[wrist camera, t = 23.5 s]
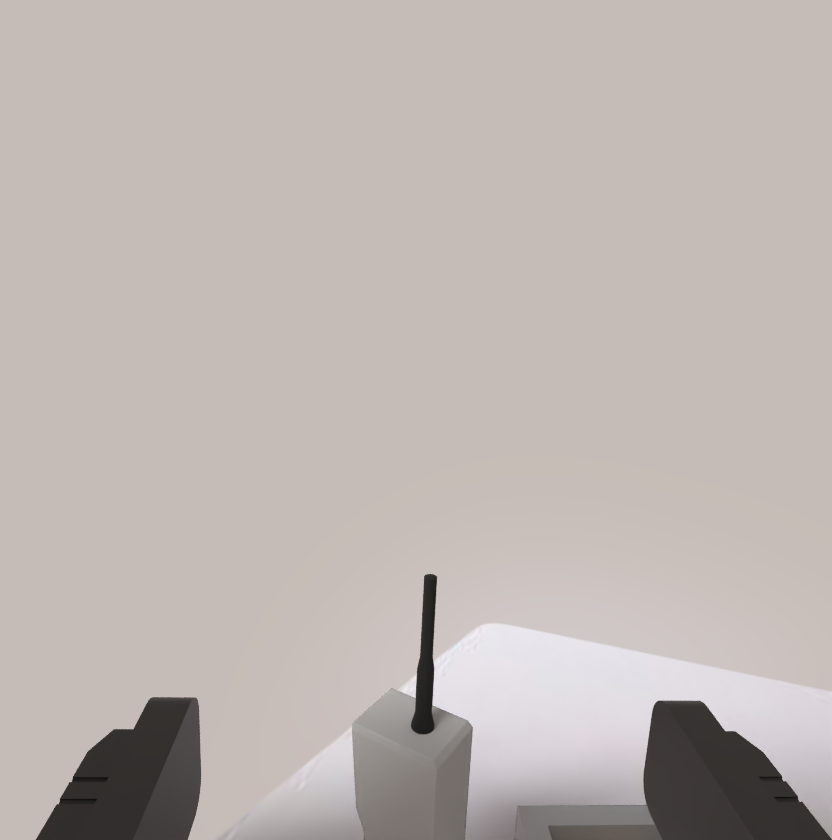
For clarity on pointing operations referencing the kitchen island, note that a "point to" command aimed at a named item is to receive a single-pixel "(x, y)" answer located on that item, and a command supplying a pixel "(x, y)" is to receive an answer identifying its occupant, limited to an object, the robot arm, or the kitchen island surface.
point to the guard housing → (585, 823)
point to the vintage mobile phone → (413, 757)
